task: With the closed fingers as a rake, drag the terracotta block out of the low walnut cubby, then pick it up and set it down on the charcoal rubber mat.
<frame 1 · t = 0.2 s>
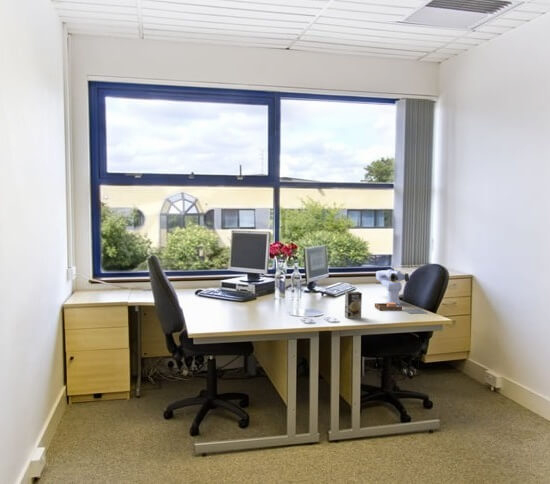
hand: (402, 278, 332), 21 cm above the table, tool horizontal, fingers open, 7 cm apart
mat: (414, 311, 328), on the table
coffee box: (352, 317, 310), on the table
block: (391, 308, 336), on the table
cubby: (388, 308, 336), on the table
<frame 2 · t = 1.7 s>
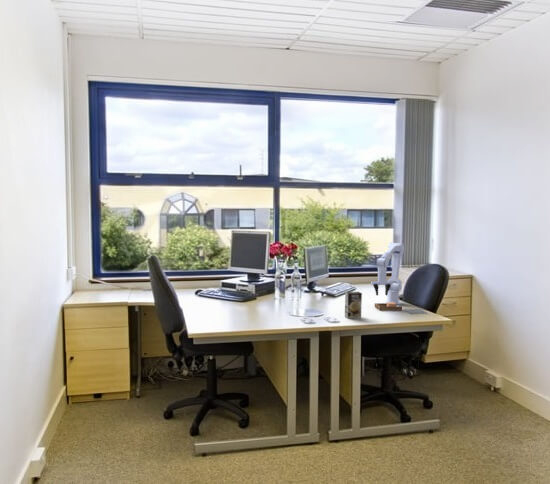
hand: (381, 295, 335), 9 cm above the table, tool pointing down, fingers open, 6 cm apart
nothing on the table moved.
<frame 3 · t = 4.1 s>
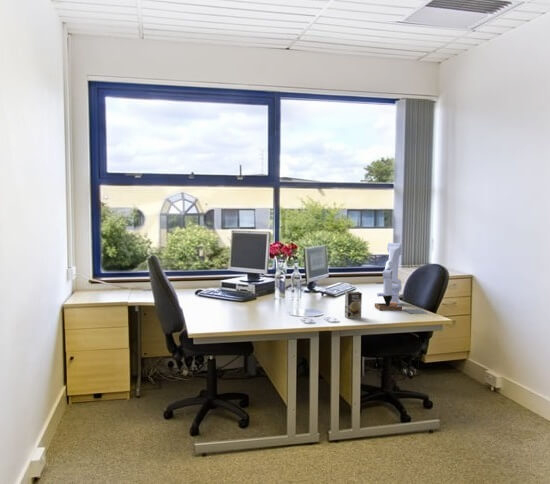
hand: (387, 306, 336), 1 cm above the table, tool pointing down, fingers closed
block: (392, 308, 336), on the table, touching gripper
everything else where it was.
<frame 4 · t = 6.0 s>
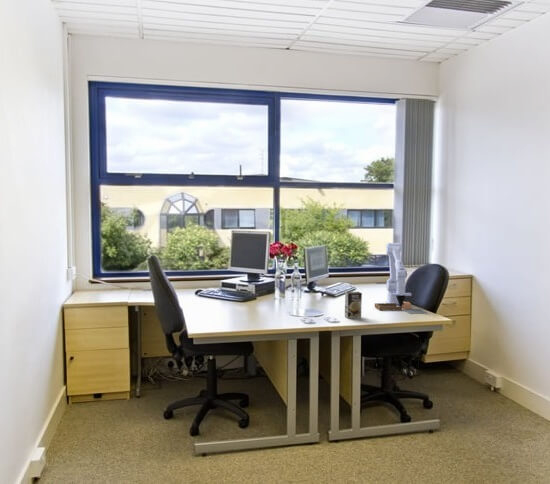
hand: (400, 306, 337), 1 cm above the table, tool pointing down, fingers closed
block: (406, 308, 337), on the table, touching gripper
everything else where it was.
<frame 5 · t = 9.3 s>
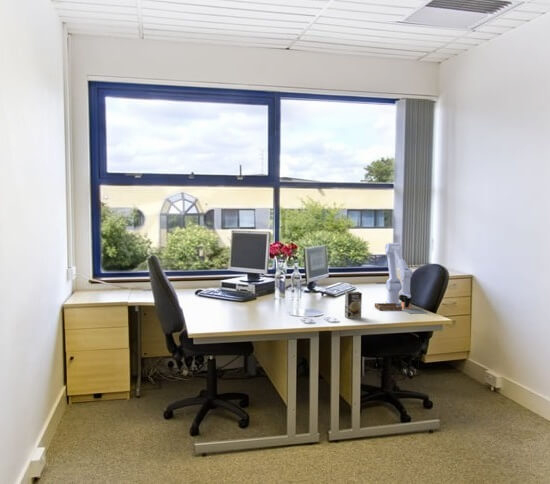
hand: (405, 306, 337), 1 cm above the table, tool pointing down, fingers closed on block, 5 cm apart
block: (405, 308, 337), on the table, touching gripper
everything else where it was.
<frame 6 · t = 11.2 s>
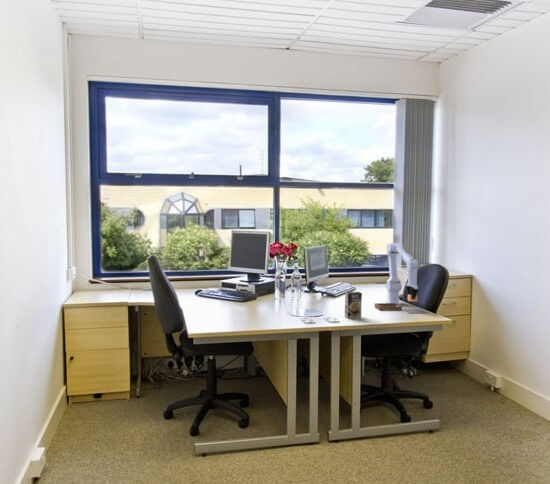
hand: (412, 297, 330), 9 cm above the table, tool pointing down, fingers closed on block, 5 cm apart
block: (412, 300, 330), point 7 cm above the table, touching gripper
everything else where it was.
when the fingers open (3 cm above the table, at t = 12.9 s): block stays where it is, resting on mat.
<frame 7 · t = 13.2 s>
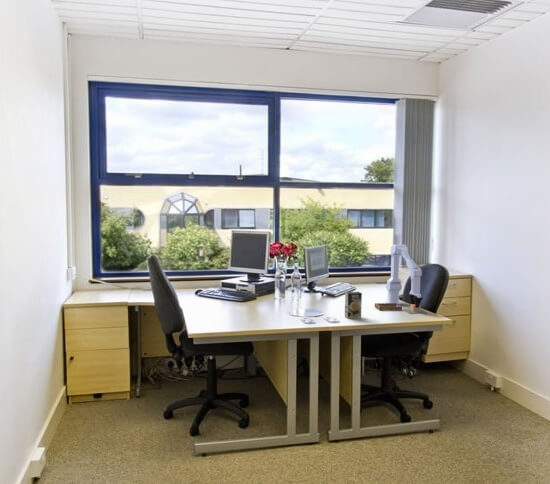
hand: (415, 306, 327), 3 cm above the table, tool pointing down, fingers open, 7 cm apart
block: (415, 310, 328), resting on mat
everything else where it was.
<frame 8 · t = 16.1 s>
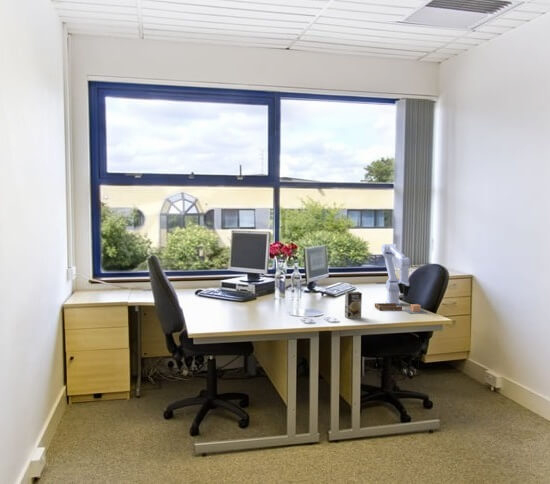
hand: (403, 294, 337), 9 cm above the table, tool pointing down, fingers open, 7 cm apart
nothing on the table moved.
at the end: block inside the target area on the mat (0.3 cm from its centre), point 0.4 cm above the mat's base; block tilted 0°; the gripper is holding nothing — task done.
